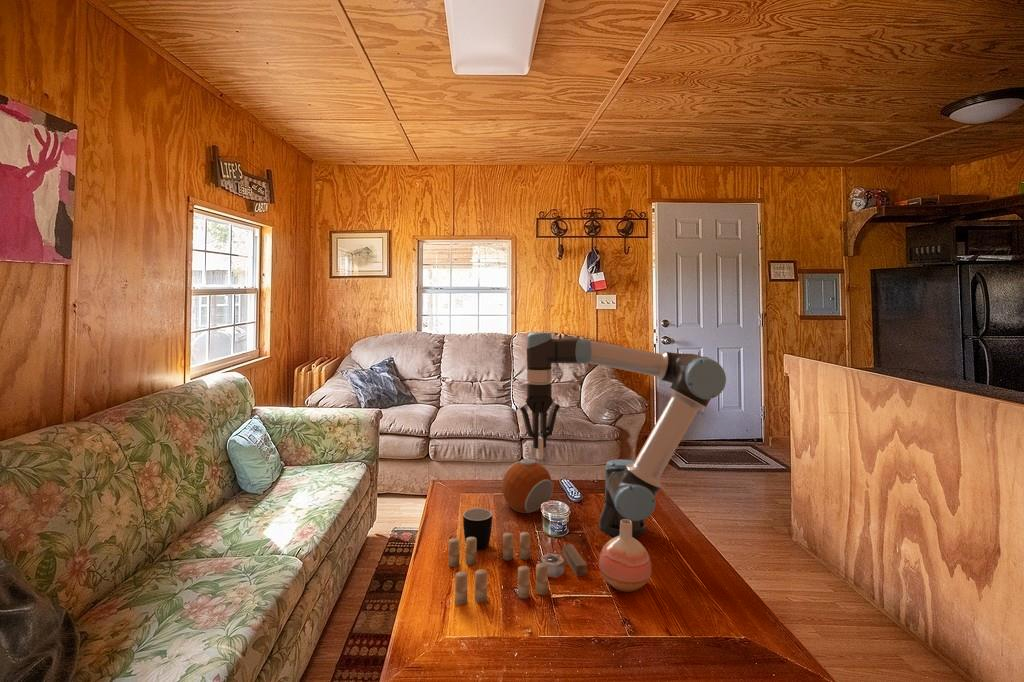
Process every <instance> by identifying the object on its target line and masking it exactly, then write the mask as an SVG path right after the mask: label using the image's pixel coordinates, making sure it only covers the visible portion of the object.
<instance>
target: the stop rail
mask: <svg viewBox="0 0 1024 682" xmlns="http://www.w3.org/2000/svg"><path fill="white" fill-rule="evenodd" d="M561 554H562V555H561V556H562V557H564V558H563V559H564V560H565V561H566V562H567V565H568V566H569V568H570V569H571V571H572V572H573V574H574V575H575V577H585V576H587V575H588V574H587V573H588V569H587V568H588V565H587V563H586V561H585V560H584V558H582V555H580V553H579V551H578V550H577V549H576V548H575V546H574V545H573V544H572V543H571V544H570V543H568V544H562V553H561Z"/></svg>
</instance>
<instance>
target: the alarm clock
mask: <svg viewBox="0 0 1024 682" xmlns="http://www.w3.org/2000/svg"><path fill="white" fill-rule="evenodd" d="M553 483H554V482H553V479H552V477H551V475H550V473H549V471H548V470H547V468H546V467H545V466H543V465H542V464H540V462H539V463H538V462H537V461H536V460H535V459H532V458H523V459H520V461H519V460H518V461H516V462H514V463H513V464H512V465H510V466H509V467H508V468H507V469H506V471H505V473H504V474H503V477H502V478H501V492H502V494H503V497H504V499H505V502H506V503H507V504H508V506H509V507H510V508H511V509H513V510H514V511H516V512H519V513H523V514H524V513H525V514H530V513H533V512H535V511H539V510H540V509H539V508H540V505H541V504H542V503H543V502H547V501H548V502H549V501H550V500H551V498H552V496H553V492H554V487H555V486H554V484H553Z"/></svg>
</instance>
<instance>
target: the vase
mask: <svg viewBox="0 0 1024 682" xmlns="http://www.w3.org/2000/svg"><path fill="white" fill-rule="evenodd" d="M598 559H599V560H598V565H599V567H598V568H599V571H600V573H601V576H602V577H603V578H604V580H605V581H606V582H607V583H608V584H609V585H610V586H612V587H613V588H614V589H615V590H618V591H619V592H623V593H624V592H625V593H631V592H635V591H636V590H639V589H640V588H642V587H643V586H644V585H646V584H647V583H648V581H649V580H650V577H651V574H652V561H651V557H650V555H649V552H648V551H647V549H646V547H645V546H644V545H643V544H642V543H641V542H640V541H639V540H637V539H636V537H634V538H633V537H632V521H630V520H628V519H622V520H621V521H620V535H619V536H617V537H615V536H613V538H611V539H609V540H608V541H607V542H606V543H605V544H604V546H603V547H602V549H601V551H600V554H599V558H598Z"/></svg>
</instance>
